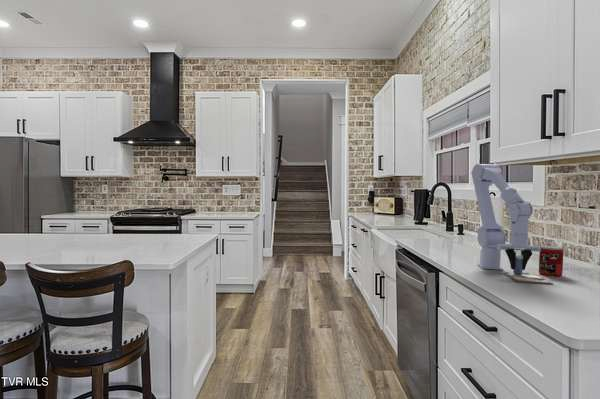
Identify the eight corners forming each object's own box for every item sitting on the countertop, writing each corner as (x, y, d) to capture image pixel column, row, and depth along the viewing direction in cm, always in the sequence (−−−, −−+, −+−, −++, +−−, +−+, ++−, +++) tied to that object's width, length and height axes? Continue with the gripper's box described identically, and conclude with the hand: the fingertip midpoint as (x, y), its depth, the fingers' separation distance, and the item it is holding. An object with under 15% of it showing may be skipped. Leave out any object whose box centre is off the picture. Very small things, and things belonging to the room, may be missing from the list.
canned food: (534, 273, 156) (535, 245, 156) (548, 272, 159) (549, 245, 159) (552, 277, 149) (553, 248, 149) (567, 276, 152) (568, 248, 152)
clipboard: (503, 273, 154) (503, 271, 154) (537, 275, 152) (537, 273, 152) (516, 282, 140) (516, 279, 140) (553, 284, 138) (553, 281, 138)
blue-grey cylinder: (512, 272, 152) (512, 254, 152) (520, 272, 151) (521, 254, 151) (514, 274, 149) (515, 256, 149) (523, 274, 148) (524, 256, 148)
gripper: (501, 234, 147) (500, 270, 148) (544, 235, 144) (542, 272, 145) (496, 232, 154) (495, 266, 155) (536, 233, 151) (535, 268, 152)
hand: (517, 269), depth 150 cm, fingers closed on blue-grey cylinder, 3 cm apart
